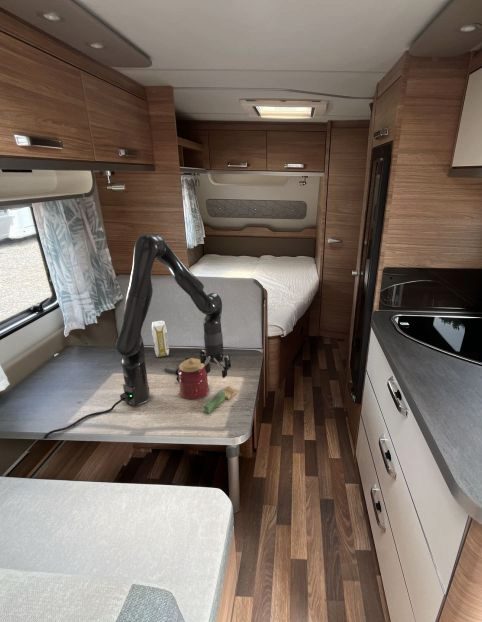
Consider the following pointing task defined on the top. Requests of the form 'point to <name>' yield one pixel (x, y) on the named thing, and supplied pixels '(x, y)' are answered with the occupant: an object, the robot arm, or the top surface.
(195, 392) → the kitchen canister
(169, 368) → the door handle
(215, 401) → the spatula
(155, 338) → the juice carton
